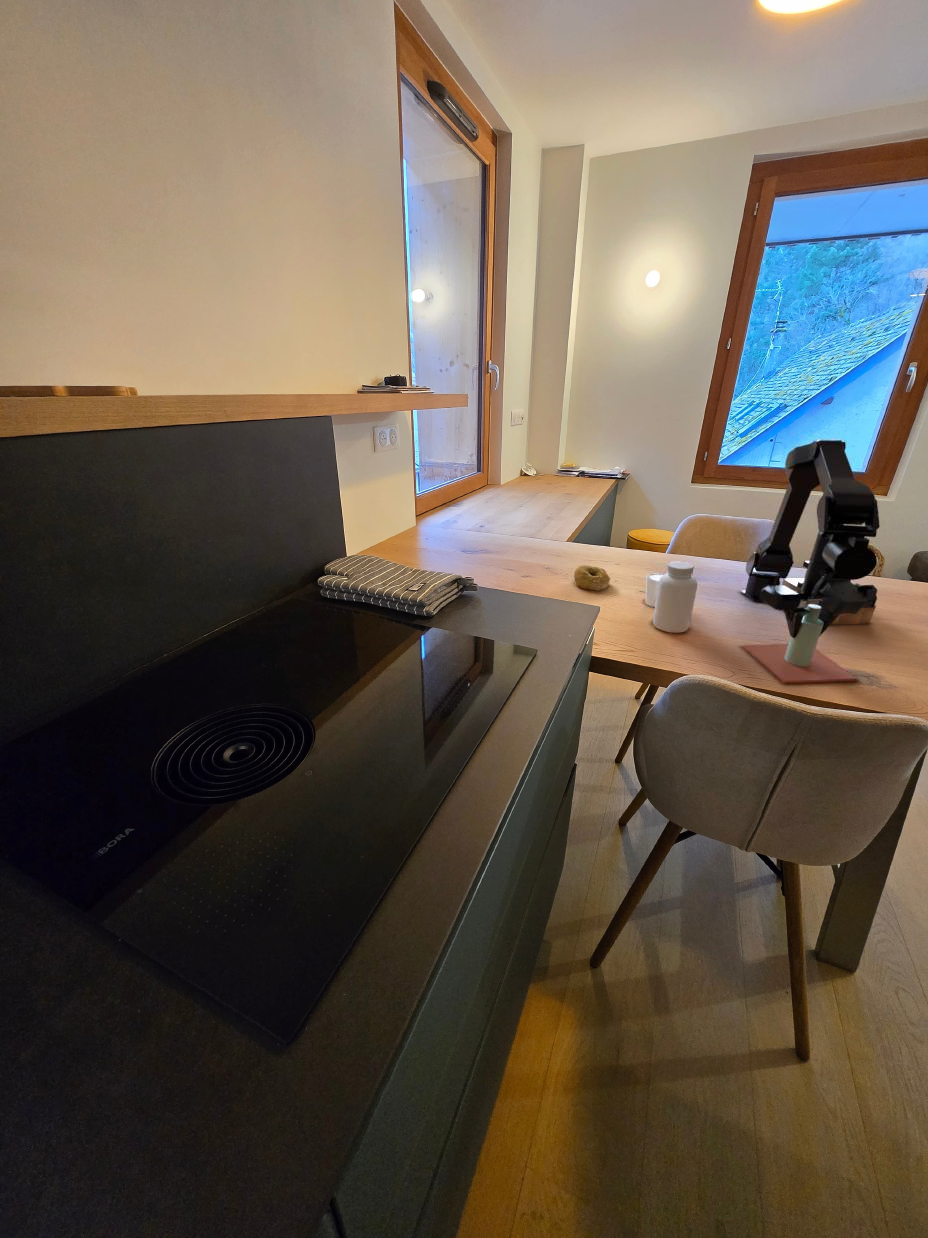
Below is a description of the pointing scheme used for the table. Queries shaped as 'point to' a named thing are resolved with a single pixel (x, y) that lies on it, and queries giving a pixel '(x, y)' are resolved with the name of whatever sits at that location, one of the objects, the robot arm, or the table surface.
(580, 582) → the bagel
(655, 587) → the white short cylinder
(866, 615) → the holder
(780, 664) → the mat
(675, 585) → the pill bottle
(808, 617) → the bottle
